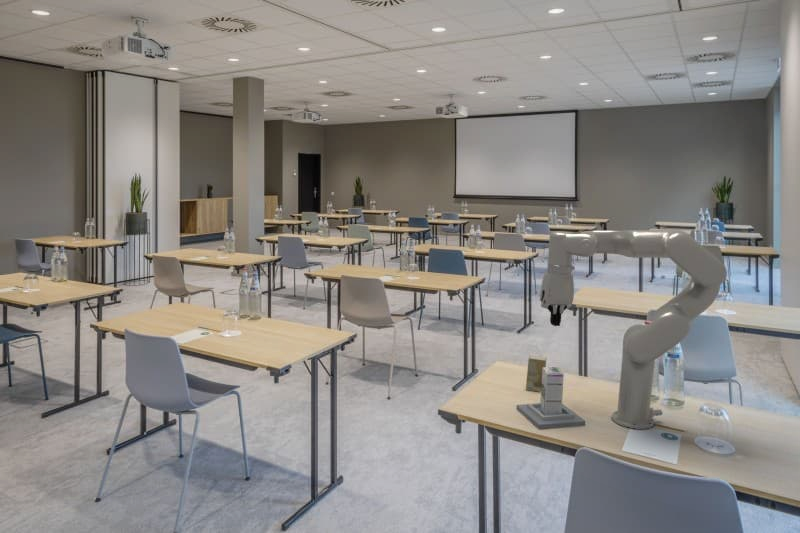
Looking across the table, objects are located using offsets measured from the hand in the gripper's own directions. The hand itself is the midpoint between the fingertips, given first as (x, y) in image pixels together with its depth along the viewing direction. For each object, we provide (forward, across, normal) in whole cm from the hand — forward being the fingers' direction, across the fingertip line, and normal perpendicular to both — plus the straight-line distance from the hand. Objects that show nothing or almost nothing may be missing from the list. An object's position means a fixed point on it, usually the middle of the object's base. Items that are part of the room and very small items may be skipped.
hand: (555, 324), depth 192 cm
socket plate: (+29, +3, +6) cm, 30 cm away
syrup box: (+28, +3, +6) cm, 29 cm away
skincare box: (+29, -4, -18) cm, 35 cm away
